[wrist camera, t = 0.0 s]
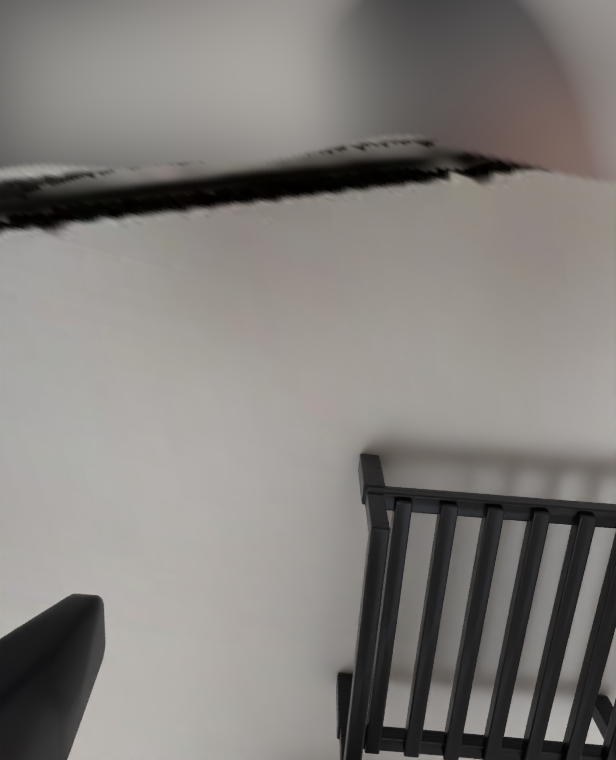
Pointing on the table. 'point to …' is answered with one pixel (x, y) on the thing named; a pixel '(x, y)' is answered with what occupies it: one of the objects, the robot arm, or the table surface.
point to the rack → (475, 628)
